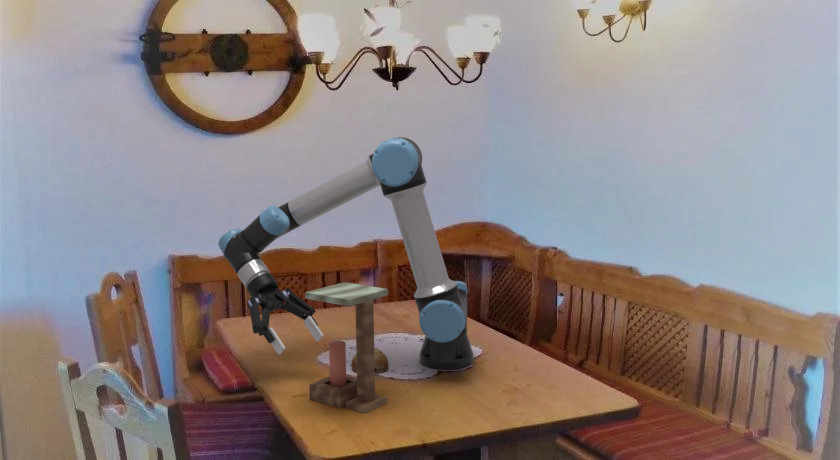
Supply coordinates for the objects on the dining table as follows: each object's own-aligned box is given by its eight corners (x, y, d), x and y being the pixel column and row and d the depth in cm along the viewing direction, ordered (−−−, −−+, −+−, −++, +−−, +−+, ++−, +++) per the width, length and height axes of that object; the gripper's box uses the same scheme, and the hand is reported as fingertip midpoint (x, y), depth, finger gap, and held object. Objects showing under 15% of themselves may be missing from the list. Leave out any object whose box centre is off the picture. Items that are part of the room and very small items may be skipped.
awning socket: (303, 402, 195) (300, 291, 191) (342, 386, 206) (340, 281, 202) (356, 417, 185) (354, 300, 181) (394, 399, 196) (392, 289, 192)
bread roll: (354, 387, 216) (356, 365, 212) (347, 361, 224) (349, 339, 220) (389, 383, 219) (392, 361, 215) (382, 358, 227) (384, 336, 223)
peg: (348, 395, 199) (347, 341, 197) (343, 401, 195) (342, 345, 193) (333, 394, 200) (332, 340, 198) (328, 400, 196) (326, 344, 194)
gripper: (286, 281, 222) (327, 341, 215) (214, 298, 202) (257, 365, 195) (299, 264, 218) (342, 325, 211) (227, 280, 198) (272, 348, 191)
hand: (301, 345), depth 203 cm, fingers open, 13 cm apart
